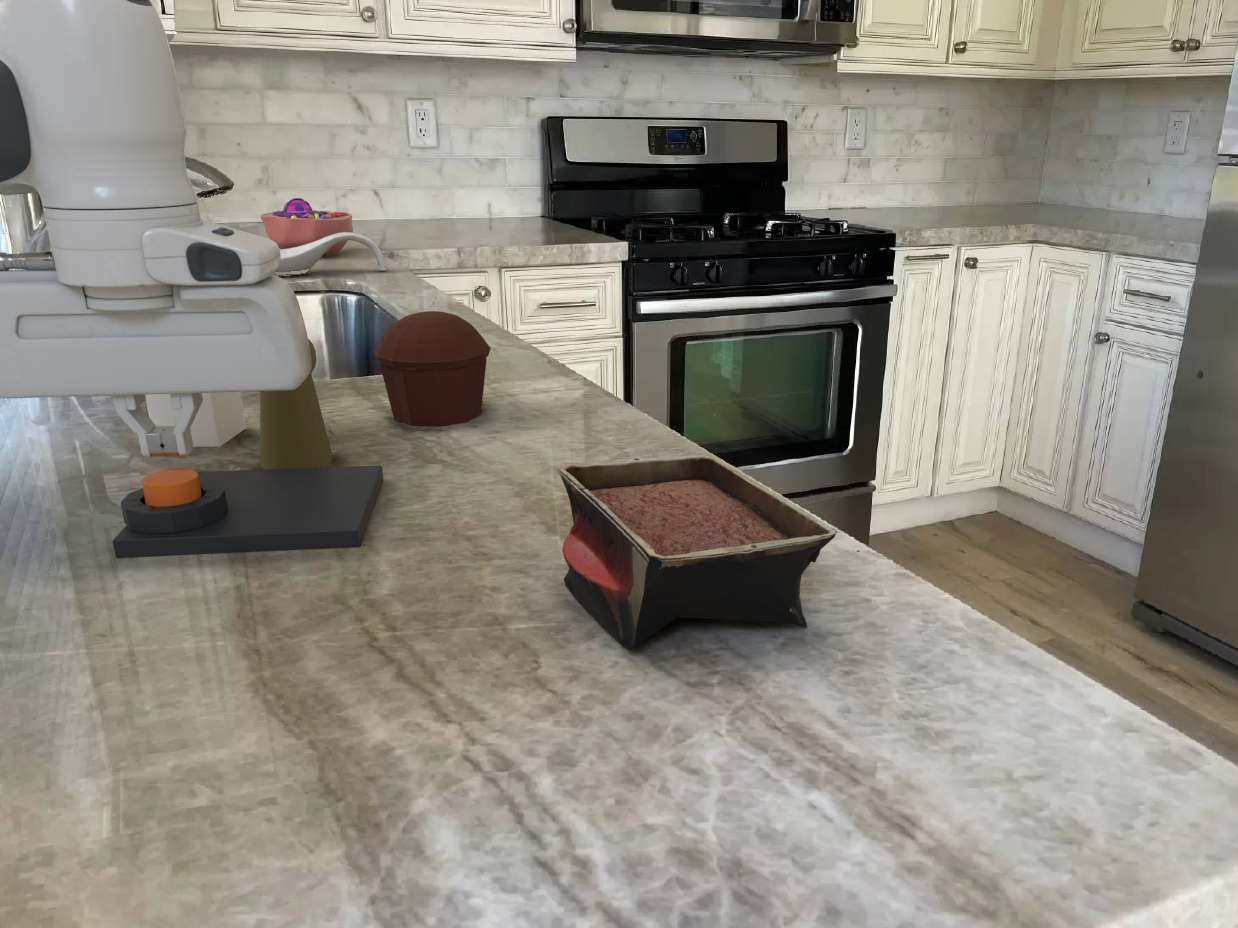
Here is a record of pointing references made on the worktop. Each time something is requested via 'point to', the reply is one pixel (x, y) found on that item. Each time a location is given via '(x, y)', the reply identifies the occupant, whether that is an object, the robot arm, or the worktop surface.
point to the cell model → (305, 225)
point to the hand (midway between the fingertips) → (168, 454)
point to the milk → (203, 416)
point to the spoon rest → (321, 252)
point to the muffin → (433, 368)
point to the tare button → (171, 487)
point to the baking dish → (683, 545)
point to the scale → (255, 513)
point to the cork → (293, 427)
